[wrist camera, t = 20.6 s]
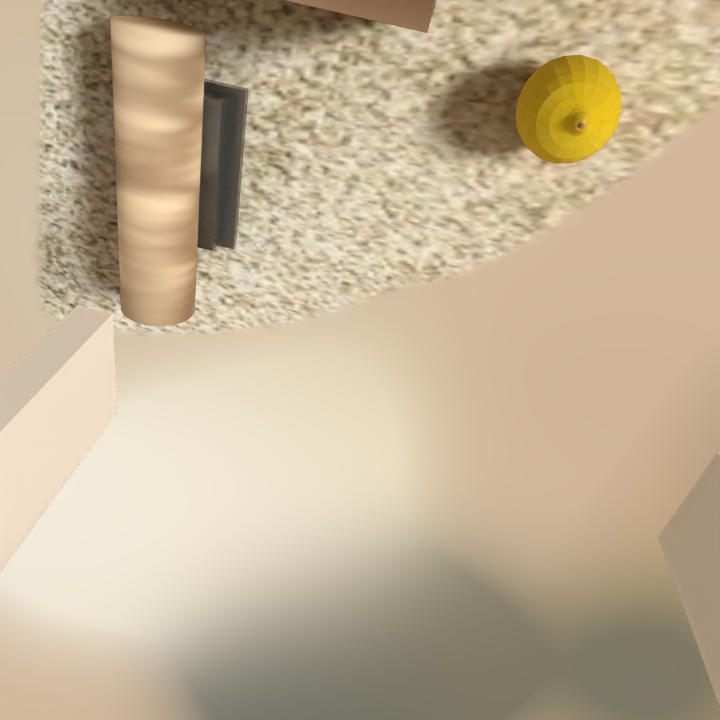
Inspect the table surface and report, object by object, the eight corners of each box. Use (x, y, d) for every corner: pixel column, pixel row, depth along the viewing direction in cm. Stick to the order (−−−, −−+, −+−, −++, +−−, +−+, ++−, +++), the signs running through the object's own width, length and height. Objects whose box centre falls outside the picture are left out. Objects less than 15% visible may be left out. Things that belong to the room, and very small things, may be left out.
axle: (148, 14, 36) (89, 16, 32) (223, 34, 35) (172, 39, 31) (149, 282, 46) (105, 310, 42) (208, 304, 45) (168, 334, 41)
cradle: (126, 60, 39) (107, 66, 37) (248, 88, 39) (236, 96, 37) (130, 221, 45) (114, 234, 43) (235, 245, 45) (225, 260, 43)
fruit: (491, 107, 38) (500, 139, 31) (556, 25, 35) (581, 40, 29) (557, 162, 39) (579, 203, 33) (625, 87, 37) (664, 115, 30)
